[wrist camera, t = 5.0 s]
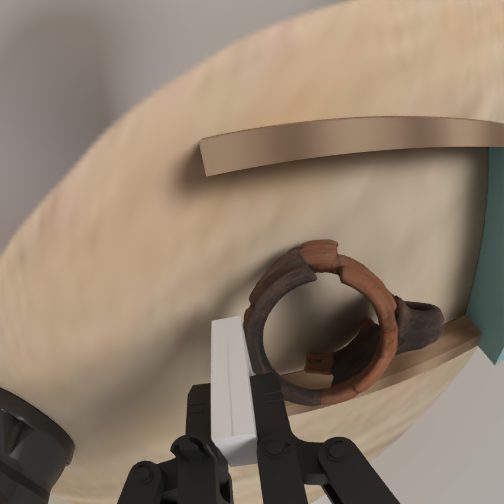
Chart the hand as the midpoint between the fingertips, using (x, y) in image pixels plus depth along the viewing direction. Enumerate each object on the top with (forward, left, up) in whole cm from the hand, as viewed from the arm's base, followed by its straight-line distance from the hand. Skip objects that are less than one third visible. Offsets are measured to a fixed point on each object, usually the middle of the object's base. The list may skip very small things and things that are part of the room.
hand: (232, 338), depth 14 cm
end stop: (+22, 0, -4) cm, 22 cm away
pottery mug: (+6, -2, -4) cm, 8 cm away
